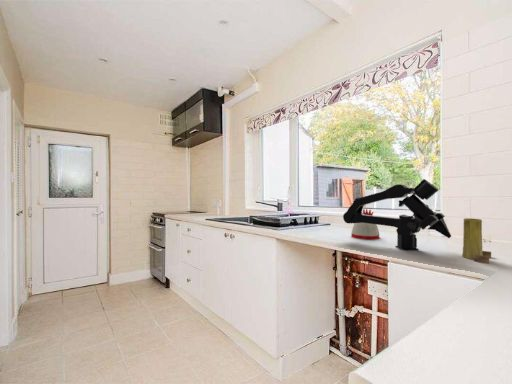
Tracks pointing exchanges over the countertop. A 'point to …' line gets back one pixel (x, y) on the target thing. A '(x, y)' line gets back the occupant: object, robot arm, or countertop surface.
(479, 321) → the countertop surface
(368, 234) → the grey red beanie hat
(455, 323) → the countertop surface
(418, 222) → the robot arm
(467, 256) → the vase
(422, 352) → the countertop surface
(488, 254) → the wooden blocks
